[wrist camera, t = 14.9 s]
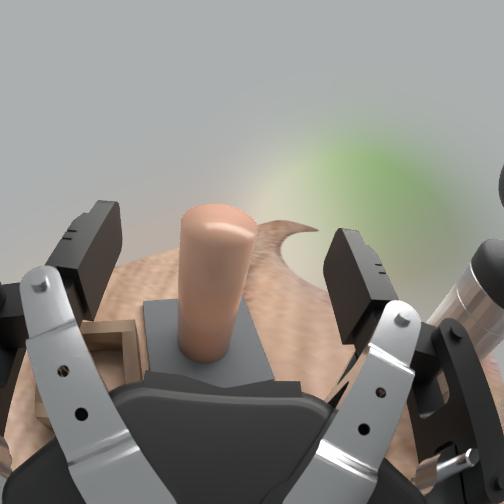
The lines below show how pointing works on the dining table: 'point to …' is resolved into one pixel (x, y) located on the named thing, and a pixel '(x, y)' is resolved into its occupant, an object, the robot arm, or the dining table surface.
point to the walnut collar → (103, 339)
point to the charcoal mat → (215, 373)
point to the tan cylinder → (212, 277)
